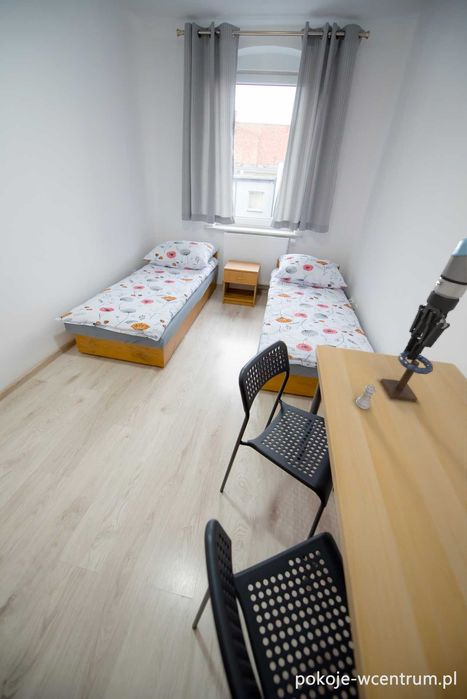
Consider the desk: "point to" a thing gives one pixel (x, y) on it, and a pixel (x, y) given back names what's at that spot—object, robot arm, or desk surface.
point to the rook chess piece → (365, 397)
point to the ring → (414, 368)
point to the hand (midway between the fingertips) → (408, 356)
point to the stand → (400, 386)
